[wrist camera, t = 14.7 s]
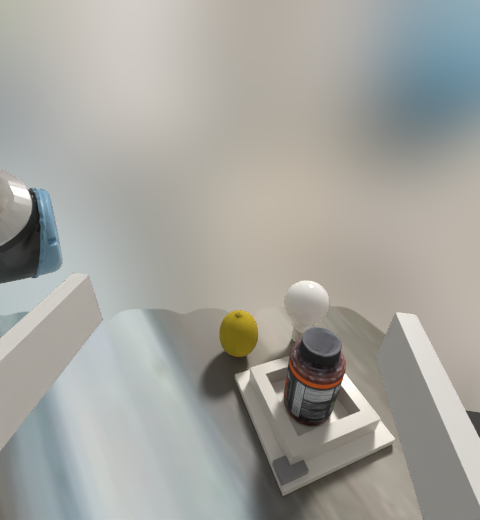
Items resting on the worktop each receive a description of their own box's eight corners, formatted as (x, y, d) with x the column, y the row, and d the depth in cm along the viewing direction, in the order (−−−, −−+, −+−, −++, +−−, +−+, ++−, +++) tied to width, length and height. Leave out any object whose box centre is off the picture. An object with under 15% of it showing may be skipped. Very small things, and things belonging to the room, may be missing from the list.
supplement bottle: (286, 377, 39) (296, 314, 33) (332, 389, 37) (351, 325, 31) (278, 420, 34) (288, 354, 28) (331, 435, 32) (353, 370, 26)
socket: (234, 378, 39) (235, 361, 38) (321, 351, 44) (325, 335, 42) (282, 496, 28) (286, 480, 26) (392, 444, 33) (402, 427, 31)
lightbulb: (321, 359, 42) (336, 302, 37) (278, 353, 43) (285, 296, 37) (319, 329, 48) (331, 274, 42) (280, 324, 49) (287, 269, 43)
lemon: (218, 340, 45) (217, 301, 41) (253, 337, 46) (255, 298, 42) (221, 370, 41) (220, 329, 36) (259, 366, 41) (263, 326, 37)
